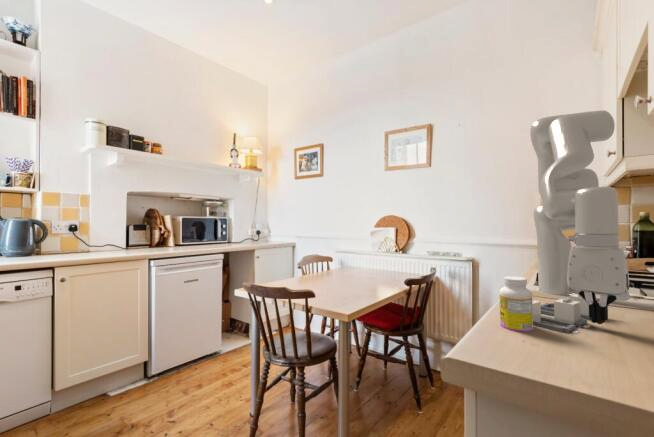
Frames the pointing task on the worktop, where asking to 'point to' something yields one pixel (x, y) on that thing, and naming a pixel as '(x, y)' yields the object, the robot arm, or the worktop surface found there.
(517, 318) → the supplement bottle
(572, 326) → the switch board
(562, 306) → the white block with ridge
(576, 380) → the worktop surface
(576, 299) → the white switch slider block
